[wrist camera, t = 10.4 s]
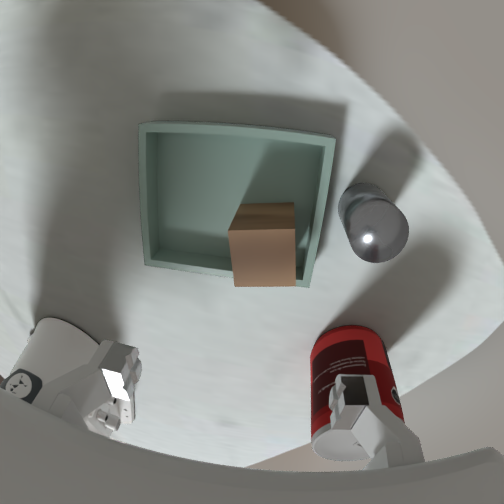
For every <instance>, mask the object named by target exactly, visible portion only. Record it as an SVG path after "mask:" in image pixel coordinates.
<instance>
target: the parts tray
mask: <svg viewBox="0 0 504 504" xmlns="http://www.w3.org/2000/svg"><path fill="white" fill-rule="evenodd" d="M335 143H336V139H335V138H334V137H333V136H331V135H328V134H321V133H315V132H308V131H301V130H293V129H285V128H277V127H267V126H257V125H246V124H233V123H216V122H193V121H151V122H146V123H141V124H139V132H138V156H139V193H140V213H141V228H142V241H143V252H144V263H145V265H147V266H154V267H160V268H167V269H173V270H180V271H187V272H194V273H200V274H207V275H214V276H221V277H229V278H233V270H232V262H231V254H230V246H229V238H228V229H229V227H230V225H231V222H232V220H233V218H234V216H235V214H236V212H237V210H238V207H239V205H240V204H253V203H284V202H294V215H295V256H296V286H298V287H306V288H309V286H310V282H311V277H312V272H313V267H314V263H315V258H316V253H317V248H318V243H319V238H320V232H321V227H322V222H323V216H324V211H325V205H326V199H327V194H328V188H329V182H330V176H331V169H332V163H333V156H334V150H335Z"/></svg>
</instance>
